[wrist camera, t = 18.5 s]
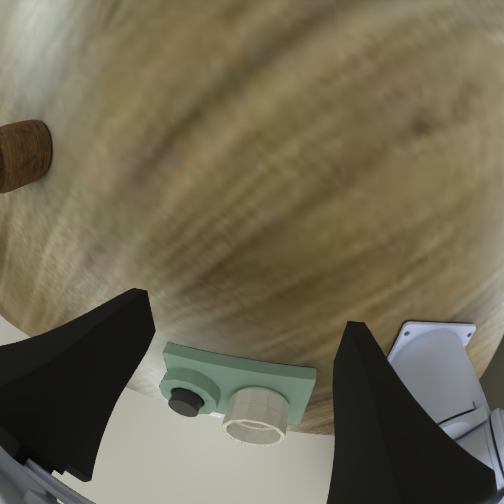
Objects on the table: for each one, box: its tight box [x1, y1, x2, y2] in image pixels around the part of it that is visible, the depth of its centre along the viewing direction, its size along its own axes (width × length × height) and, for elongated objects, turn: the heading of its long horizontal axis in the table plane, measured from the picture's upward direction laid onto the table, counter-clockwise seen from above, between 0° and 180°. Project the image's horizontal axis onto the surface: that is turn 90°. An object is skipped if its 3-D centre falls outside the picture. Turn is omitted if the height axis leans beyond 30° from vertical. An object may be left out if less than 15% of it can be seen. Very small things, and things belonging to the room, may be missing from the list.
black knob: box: [168, 387, 203, 417], centre depth 23 cm, size 3×3×2 cm
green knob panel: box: [159, 343, 317, 425], centre depth 24 cm, size 14×9×3 cm, turn 88°
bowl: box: [222, 387, 289, 446], centre depth 22 cm, size 6×6×4 cm
